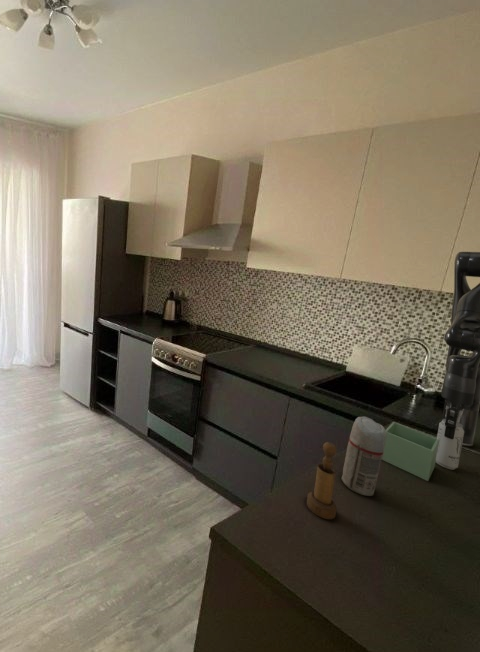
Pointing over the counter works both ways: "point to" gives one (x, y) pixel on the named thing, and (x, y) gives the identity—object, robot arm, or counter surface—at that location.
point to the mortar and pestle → (324, 486)
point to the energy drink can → (449, 446)
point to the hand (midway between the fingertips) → (450, 434)
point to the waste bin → (410, 450)
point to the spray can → (364, 456)
